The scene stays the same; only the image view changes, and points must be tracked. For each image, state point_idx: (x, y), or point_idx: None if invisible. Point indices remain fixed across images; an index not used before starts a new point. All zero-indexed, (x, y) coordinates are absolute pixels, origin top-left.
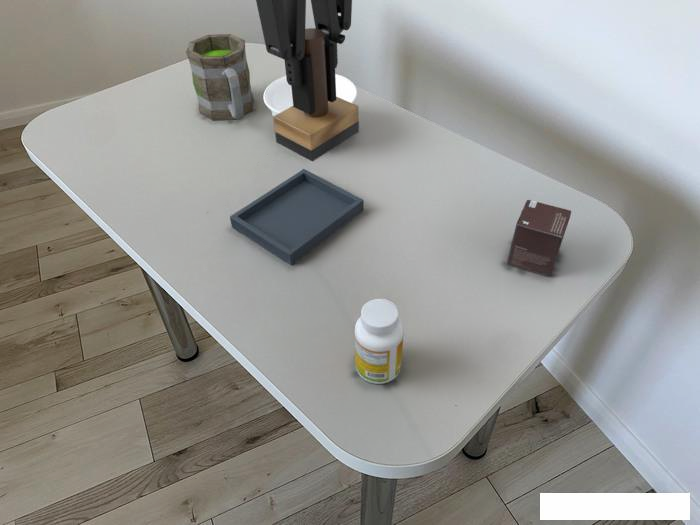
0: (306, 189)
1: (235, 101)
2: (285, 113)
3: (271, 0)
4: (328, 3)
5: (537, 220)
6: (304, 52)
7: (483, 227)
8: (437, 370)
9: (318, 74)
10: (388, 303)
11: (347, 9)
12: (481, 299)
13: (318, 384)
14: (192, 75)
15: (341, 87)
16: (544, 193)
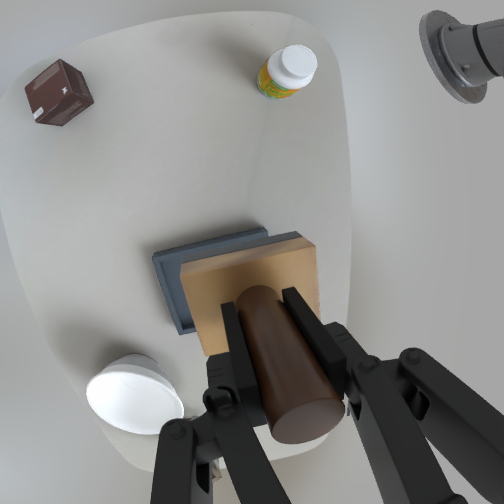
0: (189, 312)
1: None
2: None
3: None
4: (279, 493)
5: (54, 88)
6: (353, 370)
7: (72, 158)
8: (239, 49)
9: (289, 334)
10: (286, 60)
11: (174, 468)
12: (146, 80)
13: (323, 103)
14: (218, 460)
15: (98, 399)
16: (6, 169)
